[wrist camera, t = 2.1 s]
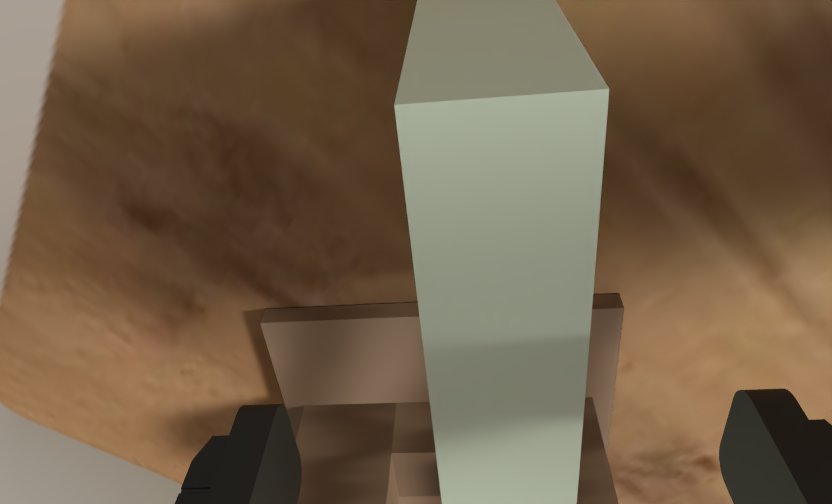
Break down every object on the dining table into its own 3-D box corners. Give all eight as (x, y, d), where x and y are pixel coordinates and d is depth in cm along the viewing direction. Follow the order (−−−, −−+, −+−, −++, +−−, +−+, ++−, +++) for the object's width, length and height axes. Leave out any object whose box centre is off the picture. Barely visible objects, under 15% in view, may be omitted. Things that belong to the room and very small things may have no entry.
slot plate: (618, 293, 27) (663, 417, 22) (597, 489, 35) (626, 619, 29) (265, 308, 29) (218, 428, 23) (320, 493, 37) (294, 618, 31)
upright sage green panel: (525, -50, 20) (609, 89, 9) (524, 258, 27) (573, 548, 16) (426, -40, 20) (394, 104, 9) (450, 262, 27) (447, 549, 16)
